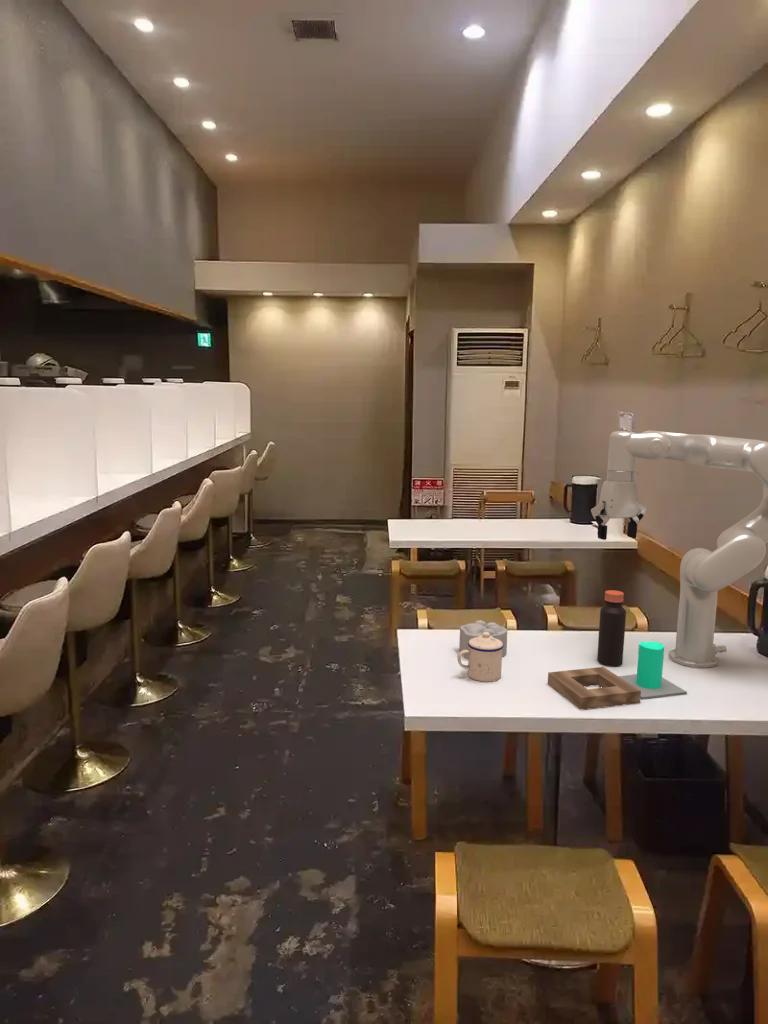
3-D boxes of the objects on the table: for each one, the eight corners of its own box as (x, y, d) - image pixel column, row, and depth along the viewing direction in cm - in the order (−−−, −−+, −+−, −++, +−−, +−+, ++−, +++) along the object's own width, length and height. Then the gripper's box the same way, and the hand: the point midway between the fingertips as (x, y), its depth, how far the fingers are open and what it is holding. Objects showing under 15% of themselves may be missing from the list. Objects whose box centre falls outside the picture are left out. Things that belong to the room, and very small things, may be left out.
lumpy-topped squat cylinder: (456, 648, 210) (457, 619, 209) (499, 646, 213) (500, 617, 211) (467, 661, 200) (468, 631, 199) (512, 659, 203) (513, 629, 201)
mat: (653, 674, 193) (654, 672, 193) (686, 694, 180) (687, 691, 180) (610, 679, 189) (611, 677, 189) (641, 699, 177) (641, 697, 177)
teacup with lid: (494, 668, 196) (496, 626, 194) (507, 681, 187) (509, 637, 185) (452, 670, 193) (453, 628, 191) (462, 684, 184) (463, 640, 183)
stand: (602, 677, 190) (603, 666, 190) (640, 702, 175) (641, 690, 174) (547, 683, 186) (548, 672, 185) (581, 709, 171) (581, 697, 170)
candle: (661, 681, 186) (664, 636, 184) (661, 690, 181) (665, 644, 179) (636, 678, 188) (639, 633, 186) (635, 686, 183) (639, 641, 181)
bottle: (610, 656, 205) (615, 588, 202) (627, 665, 199) (633, 594, 196) (591, 660, 202) (596, 590, 199) (608, 668, 196) (613, 597, 193)
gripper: (638, 474, 205) (634, 534, 208) (586, 475, 200) (582, 536, 203) (656, 477, 198) (651, 539, 201) (602, 479, 193) (598, 542, 196)
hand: (616, 538), depth 202 cm, fingers open, 9 cm apart
